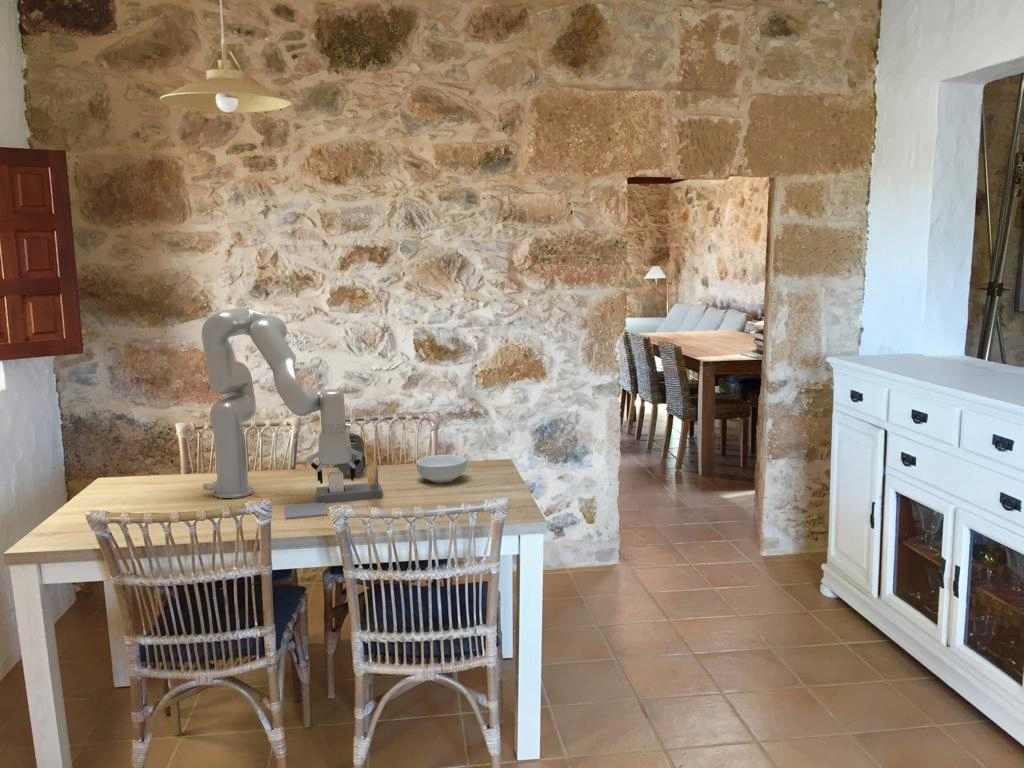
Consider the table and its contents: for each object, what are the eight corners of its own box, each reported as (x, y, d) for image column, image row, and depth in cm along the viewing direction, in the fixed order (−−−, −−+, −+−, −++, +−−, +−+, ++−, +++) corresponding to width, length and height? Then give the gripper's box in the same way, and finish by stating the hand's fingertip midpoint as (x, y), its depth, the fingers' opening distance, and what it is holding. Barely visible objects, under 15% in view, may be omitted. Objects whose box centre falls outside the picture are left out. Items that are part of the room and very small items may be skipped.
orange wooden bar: (375, 484, 254) (375, 477, 254) (366, 484, 254) (366, 477, 254) (377, 467, 274) (377, 461, 274) (369, 467, 274) (369, 461, 273)
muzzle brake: (365, 459, 321) (364, 432, 319) (366, 478, 293) (364, 449, 292) (340, 460, 319) (338, 433, 317) (337, 480, 292) (336, 450, 290)
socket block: (318, 503, 265) (317, 478, 263) (316, 494, 274) (315, 470, 273) (382, 497, 270) (381, 472, 268) (379, 489, 279) (378, 465, 278)
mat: (285, 519, 250) (285, 517, 249) (285, 507, 261) (285, 506, 261) (327, 515, 253) (327, 513, 253) (325, 503, 264) (324, 502, 264)
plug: (330, 500, 268) (328, 475, 267) (329, 496, 272) (328, 472, 271) (344, 498, 269) (343, 474, 268) (343, 495, 274) (342, 471, 272)
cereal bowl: (456, 471, 301) (456, 452, 300) (474, 482, 286) (473, 462, 285) (410, 477, 294) (409, 457, 293) (426, 489, 279) (425, 468, 278)
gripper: (360, 424, 273) (363, 475, 276) (305, 428, 269) (308, 480, 271) (362, 428, 266) (365, 481, 269) (305, 433, 261) (309, 487, 264)
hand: (336, 481), depth 270 cm, fingers open, 9 cm apart
